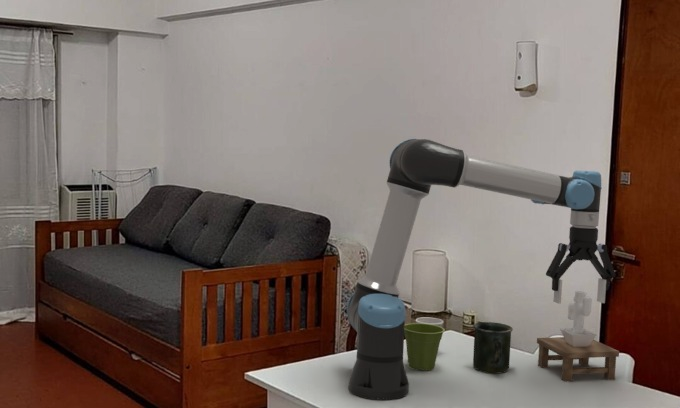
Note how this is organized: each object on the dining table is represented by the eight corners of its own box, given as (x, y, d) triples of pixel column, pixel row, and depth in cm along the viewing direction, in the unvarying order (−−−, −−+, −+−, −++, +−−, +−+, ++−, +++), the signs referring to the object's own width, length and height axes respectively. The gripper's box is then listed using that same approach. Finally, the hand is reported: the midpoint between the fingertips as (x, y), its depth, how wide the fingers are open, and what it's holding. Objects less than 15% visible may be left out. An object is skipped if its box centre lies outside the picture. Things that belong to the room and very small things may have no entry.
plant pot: (433, 376, 205) (435, 335, 204) (393, 368, 210) (395, 328, 210) (449, 366, 215) (451, 326, 214) (411, 359, 221) (412, 320, 220)
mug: (505, 363, 220) (507, 322, 219) (517, 378, 205) (519, 335, 204) (468, 362, 220) (470, 321, 219) (477, 377, 205) (479, 333, 204)
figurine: (580, 340, 217) (583, 288, 216) (598, 348, 208) (601, 294, 207) (557, 340, 216) (560, 288, 215) (573, 349, 207) (577, 295, 206)
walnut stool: (564, 382, 203) (566, 353, 203) (535, 365, 219) (537, 337, 218) (617, 380, 207) (619, 351, 206) (585, 363, 223) (586, 336, 222)
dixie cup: (446, 352, 229) (447, 319, 228) (435, 358, 222) (436, 324, 221) (421, 347, 234) (422, 315, 233) (409, 353, 226) (410, 320, 226)
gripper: (550, 227, 203) (545, 305, 205) (631, 228, 209) (626, 304, 211) (536, 224, 211) (531, 299, 212) (615, 225, 216) (610, 299, 218)
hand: (579, 302), depth 211 cm, fingers open, 13 cm apart
